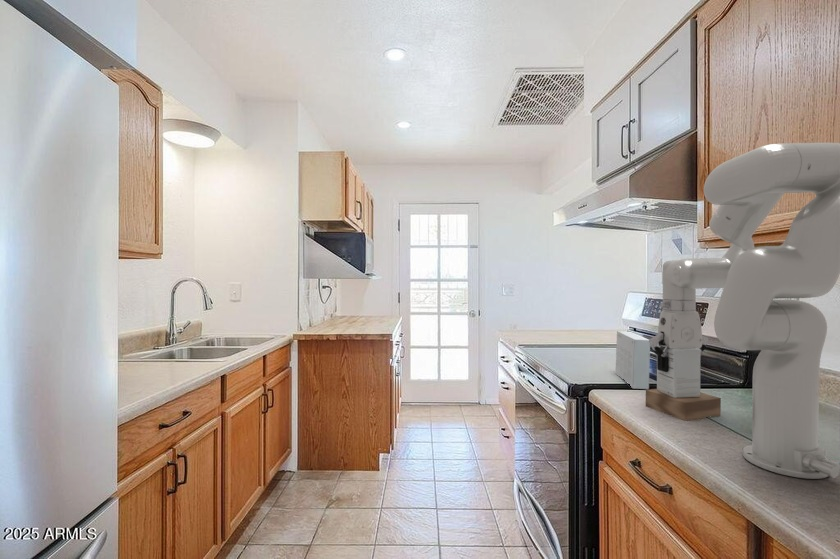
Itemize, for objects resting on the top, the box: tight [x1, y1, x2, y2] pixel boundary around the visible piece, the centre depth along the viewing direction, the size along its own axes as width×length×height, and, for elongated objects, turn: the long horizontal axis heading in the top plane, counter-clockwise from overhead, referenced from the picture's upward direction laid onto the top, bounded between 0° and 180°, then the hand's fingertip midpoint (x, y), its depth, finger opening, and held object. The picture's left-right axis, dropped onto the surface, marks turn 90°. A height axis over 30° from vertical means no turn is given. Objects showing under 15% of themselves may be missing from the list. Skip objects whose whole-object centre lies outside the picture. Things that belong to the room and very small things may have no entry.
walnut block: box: [645, 388, 722, 422], centre depth 110 cm, size 12×12×5 cm
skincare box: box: [614, 330, 651, 390], centre depth 141 cm, size 21×6×16 cm, turn 168°
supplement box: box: [656, 344, 701, 398], centre depth 110 cm, size 7×7×13 cm
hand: (678, 370), depth 111 cm, fingers open, 9 cm apart
